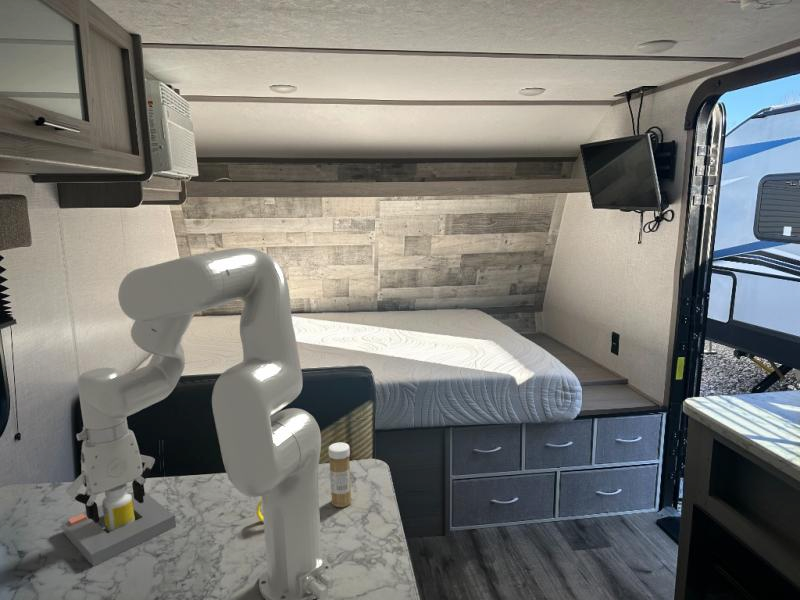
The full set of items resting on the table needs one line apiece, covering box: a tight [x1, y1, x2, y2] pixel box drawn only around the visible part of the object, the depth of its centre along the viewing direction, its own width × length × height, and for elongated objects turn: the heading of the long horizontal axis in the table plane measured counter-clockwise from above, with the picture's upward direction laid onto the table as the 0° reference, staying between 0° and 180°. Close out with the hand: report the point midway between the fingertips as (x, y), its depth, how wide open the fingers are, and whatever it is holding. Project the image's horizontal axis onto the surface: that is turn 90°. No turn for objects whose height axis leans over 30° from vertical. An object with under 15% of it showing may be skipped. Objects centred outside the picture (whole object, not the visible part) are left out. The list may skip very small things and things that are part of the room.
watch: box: [256, 499, 264, 523], centre depth 114 cm, size 6×3×6 cm, turn 92°
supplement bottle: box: [101, 483, 136, 533], centre depth 111 cm, size 5×5×10 cm
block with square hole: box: [61, 492, 177, 567], centre depth 112 cm, size 16×16×3 cm
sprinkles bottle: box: [327, 442, 352, 508], centre depth 119 cm, size 5×5×13 cm
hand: (117, 509), depth 111 cm, fingers open, 8 cm apart
